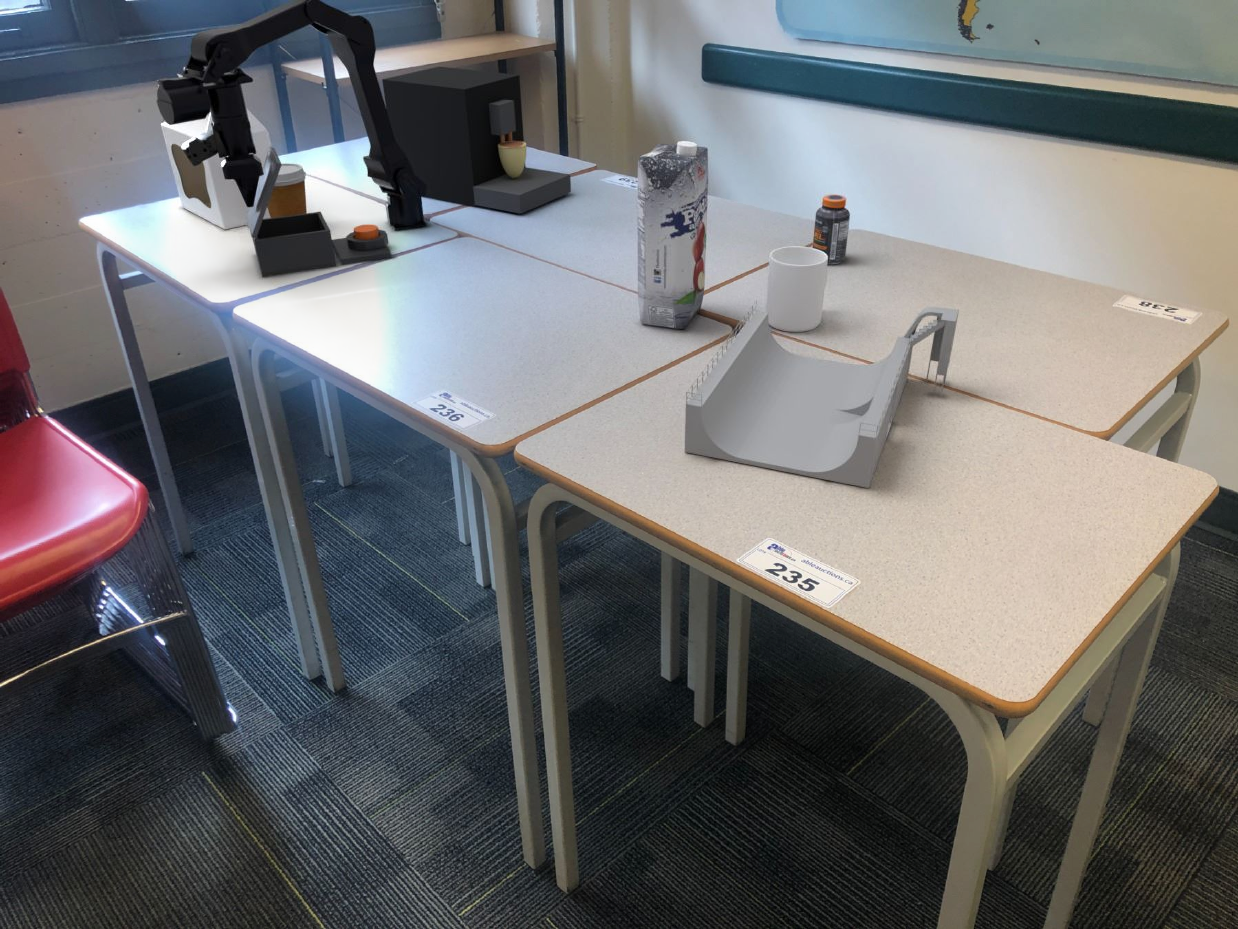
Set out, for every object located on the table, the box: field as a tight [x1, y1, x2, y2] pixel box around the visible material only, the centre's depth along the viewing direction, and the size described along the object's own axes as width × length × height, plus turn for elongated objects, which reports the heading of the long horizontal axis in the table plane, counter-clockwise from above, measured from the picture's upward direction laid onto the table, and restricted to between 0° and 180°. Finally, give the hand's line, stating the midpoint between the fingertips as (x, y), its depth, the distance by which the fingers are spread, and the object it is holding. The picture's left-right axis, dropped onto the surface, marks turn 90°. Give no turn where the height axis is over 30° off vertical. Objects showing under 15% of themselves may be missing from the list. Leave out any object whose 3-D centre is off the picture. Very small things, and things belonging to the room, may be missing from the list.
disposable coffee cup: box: [259, 163, 308, 218], centre depth 188 cm, size 10×10×12 cm
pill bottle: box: [812, 193, 851, 265], centre depth 168 cm, size 6×6×11 cm
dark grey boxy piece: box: [252, 211, 337, 278], centre depth 173 cm, size 13×12×7 cm
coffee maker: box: [381, 66, 572, 215], centre depth 204 cm, size 18×35×24 cm, turn 57°
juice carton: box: [636, 140, 709, 330], centre depth 143 cm, size 9×10×27 cm
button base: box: [332, 228, 392, 266], centre depth 178 cm, size 10×12×3 cm
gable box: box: [160, 66, 272, 231], centre depth 194 cm, size 22×13×28 cm, turn 43°
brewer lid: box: [246, 146, 283, 239], centre depth 167 cm, size 14×12×1 cm
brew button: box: [353, 224, 379, 240], centre depth 177 cm, size 4×4×2 cm
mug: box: [765, 245, 829, 333], centre depth 146 cm, size 9×12×11 cm
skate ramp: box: [684, 299, 960, 489], centre depth 119 cm, size 30×27×11 cm
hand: (250, 206), depth 167 cm, fingers closed
